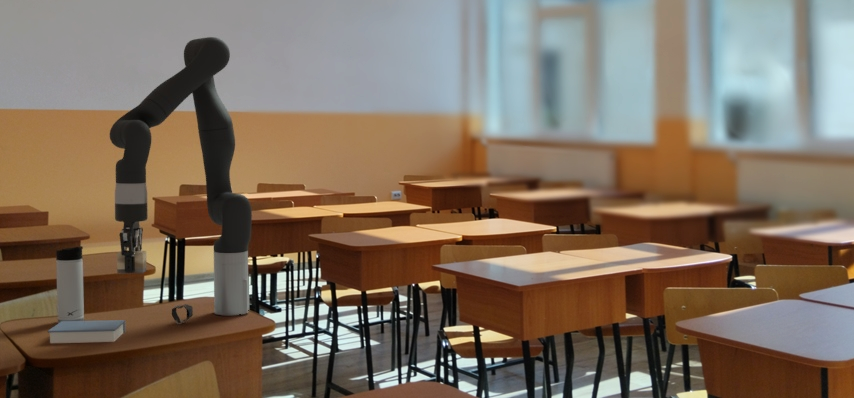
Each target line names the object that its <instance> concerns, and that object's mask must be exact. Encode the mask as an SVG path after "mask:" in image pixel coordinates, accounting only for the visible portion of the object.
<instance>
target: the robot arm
mask: <svg viewBox="0 0 854 398" xmlns="http://www.w3.org/2000/svg"><path fill="white" fill-rule="evenodd" d="M230 54H231V52H230V48H229V46H228V44H227V42H225V40H224V39H221V38H219V37H215V36H208V37H202V38H201V37H200V38H195V39H191V40H189V41H188V42H187V43H186V44H185V46H184V50H183V60H184V66H185V67H183V68H182V69H181V70H179V71H178V72H177V73H175V74H174V75H172V76H171V77H170V78H167V79H166V80H165V81H163V82H161V83H160V84H159V85H157V86H156V87H155V88H154V89H153V90H152V91H151V92H150V93H149V94H147V96H146V97H145V98H144V99H143V100H142V101H140V103H139V104H138V105H136V106H135V107H133V108H132V109H131V110H129V111H127V112H126V113H125V114H123V115H122V116H121V117H119V118H118V119H117V120H115V122H114V123H113V124H112V125H111V128H110V130H109V139H110V142H111V144H112V145H113V146H114V147H116V148H119V149H124V151H123V155H122V158H121V159H118V160H117V161H116V163H115V187H114V188H115V189H114V219H115V221H116V222H121V223H123V226H122V227H123V228H122V229H121V232H119V241H120V243H119V244H120V251H121V254H122V255H123V256H124V257H125V272H126V273H125V274H133V273H132V272H134V271H135V251H142V250H143V248H142V244H143V232H144V228H143V227H140V222H145V221H147V220H148V219H149V218H148V189H147V168H146V167H147V163H148V160H149V159H148V158H149V155H150V152H151V151H150V150H151V147H152V133H151V128H154V127H157V126H160V125H161V124H162V123H164V122H165V121H166V119H167V118H168V117H169V116H170V115H171V114H172V113H173V112H174V111H175V110H176V109H177V108H178V107H179V106H180V105H181V104H182V103H183V102H184V101H185V100H186V99H187V98H188V97H190V95H192V98H193V104H194V105H193V106H194V110H195V115H196V121H197V131H198V137H199V142H200V143H199V144H200V149H201V154H202V161H203V167H204V175H205V188H206V191H205V192H206V208H207V213H208V216H209V218H210V220H211V221H212V222H213V224H216V225H218V226H221V235H220V236H219V238H217V239H216V240H214V243H213V294H214V295H213V300H214V302H213V304H214V305H213V307H214V308H213V310H214V314H215V315H218V316H240V315H239V314H241V315H246V314H245V313H249V312H250V276H249V244H250V242H251V238H252V222H253V221H252V219H253V215H252V212H253V211H252V206H251V201H250V200H249V198H248V197H246V196H245V195H244V194H242V193H235V192H234V193H233V190H232V185H231V178H230V177H231V176H230V175H231V174H230V171H231V165H232V162H233V158H234V155H235V151H236V150H235V149H236V138H235V129H234V124H233V120H232V117H231V114H230V113H229V111H228V109H227V108H226V106H225V104H224V103H223V101H222V100H221V98H220V96H219V94H218V92H217V87H216V84H215V79H214V78H215V77H214V76H215V75H217V74H218V73H220V72H221V71H222V70H223V69H225V68H226V67H227V65H228V63H229V61H230V56H231V55H230ZM248 310H249V311H248Z"/></svg>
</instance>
